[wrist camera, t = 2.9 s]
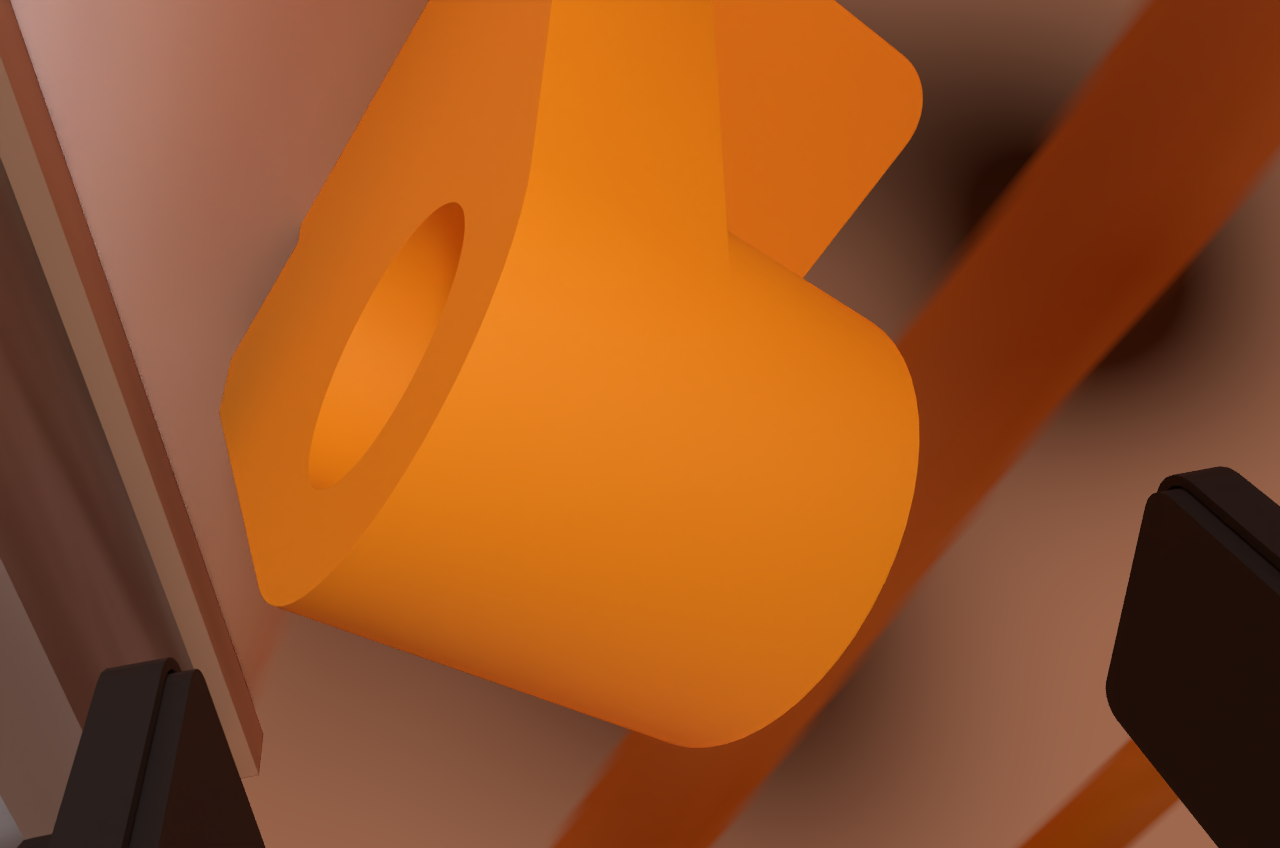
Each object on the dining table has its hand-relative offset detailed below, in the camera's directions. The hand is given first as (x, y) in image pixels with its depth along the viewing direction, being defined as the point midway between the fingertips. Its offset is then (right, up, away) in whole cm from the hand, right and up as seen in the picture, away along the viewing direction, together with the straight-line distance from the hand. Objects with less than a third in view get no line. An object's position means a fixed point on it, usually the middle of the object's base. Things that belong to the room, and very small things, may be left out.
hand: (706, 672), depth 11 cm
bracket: (-2, +7, +9) cm, 12 cm away
